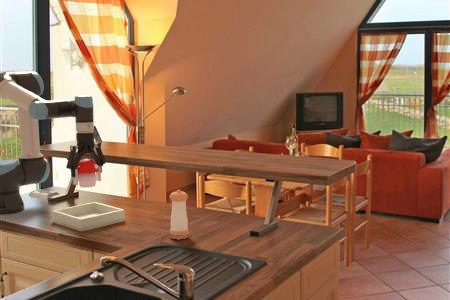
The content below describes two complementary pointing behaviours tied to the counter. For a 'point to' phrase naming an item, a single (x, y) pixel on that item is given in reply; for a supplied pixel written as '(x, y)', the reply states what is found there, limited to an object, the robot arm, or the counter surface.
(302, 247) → the counter surface
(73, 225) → the tub
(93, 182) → the mushroom
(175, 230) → the pepper shaker
